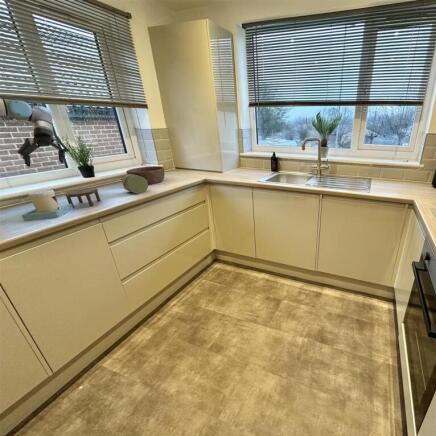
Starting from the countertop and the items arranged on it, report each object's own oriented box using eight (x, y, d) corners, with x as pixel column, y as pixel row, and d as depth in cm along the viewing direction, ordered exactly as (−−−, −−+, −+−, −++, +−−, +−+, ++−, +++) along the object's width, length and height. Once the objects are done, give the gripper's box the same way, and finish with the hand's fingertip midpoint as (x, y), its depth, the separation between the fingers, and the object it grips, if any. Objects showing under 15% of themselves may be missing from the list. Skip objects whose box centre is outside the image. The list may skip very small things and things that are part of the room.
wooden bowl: (169, 182, 181) (166, 169, 177) (130, 188, 168) (126, 173, 164) (164, 177, 200) (161, 165, 196) (129, 181, 187) (125, 168, 184)
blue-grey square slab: (24, 220, 114) (21, 215, 113) (43, 211, 126) (40, 206, 125) (58, 217, 117) (55, 211, 116) (73, 208, 129) (71, 203, 128)
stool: (64, 209, 128) (58, 195, 125) (78, 202, 140) (73, 188, 137) (94, 206, 131) (89, 192, 128) (105, 199, 144) (101, 186, 141)
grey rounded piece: (141, 188, 166) (137, 172, 162) (149, 191, 159) (145, 174, 155) (123, 192, 157) (118, 175, 153) (131, 195, 151) (126, 177, 147)
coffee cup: (65, 213, 123) (56, 190, 118) (41, 219, 116) (30, 195, 111) (59, 210, 128) (50, 188, 123) (35, 215, 120) (24, 192, 116)
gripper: (75, 134, 139) (77, 164, 133) (18, 138, 130) (18, 170, 124) (68, 125, 133) (70, 156, 127) (7, 128, 123) (7, 162, 117)
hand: (44, 163), depth 125 cm, fingers open, 13 cm apart
